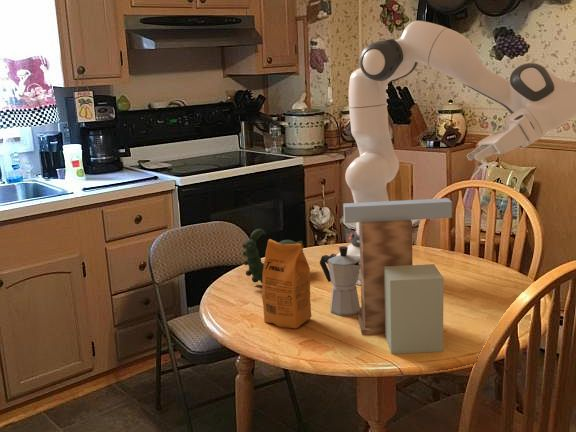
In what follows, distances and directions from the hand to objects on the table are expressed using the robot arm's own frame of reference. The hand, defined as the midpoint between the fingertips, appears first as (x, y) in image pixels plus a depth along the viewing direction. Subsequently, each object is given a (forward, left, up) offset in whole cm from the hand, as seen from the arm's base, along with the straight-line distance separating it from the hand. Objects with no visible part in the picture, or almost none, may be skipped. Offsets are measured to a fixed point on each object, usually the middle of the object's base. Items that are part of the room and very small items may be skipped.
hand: (472, 158), depth 164 cm
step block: (-7, -25, -41) cm, 48 cm away
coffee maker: (-32, -12, -41) cm, 53 cm away
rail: (-14, -15, -13) cm, 25 cm away
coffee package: (-42, -25, -41) cm, 64 cm away
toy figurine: (-62, +3, -41) cm, 74 cm away
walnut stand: (-17, -17, -41) cm, 47 cm away
